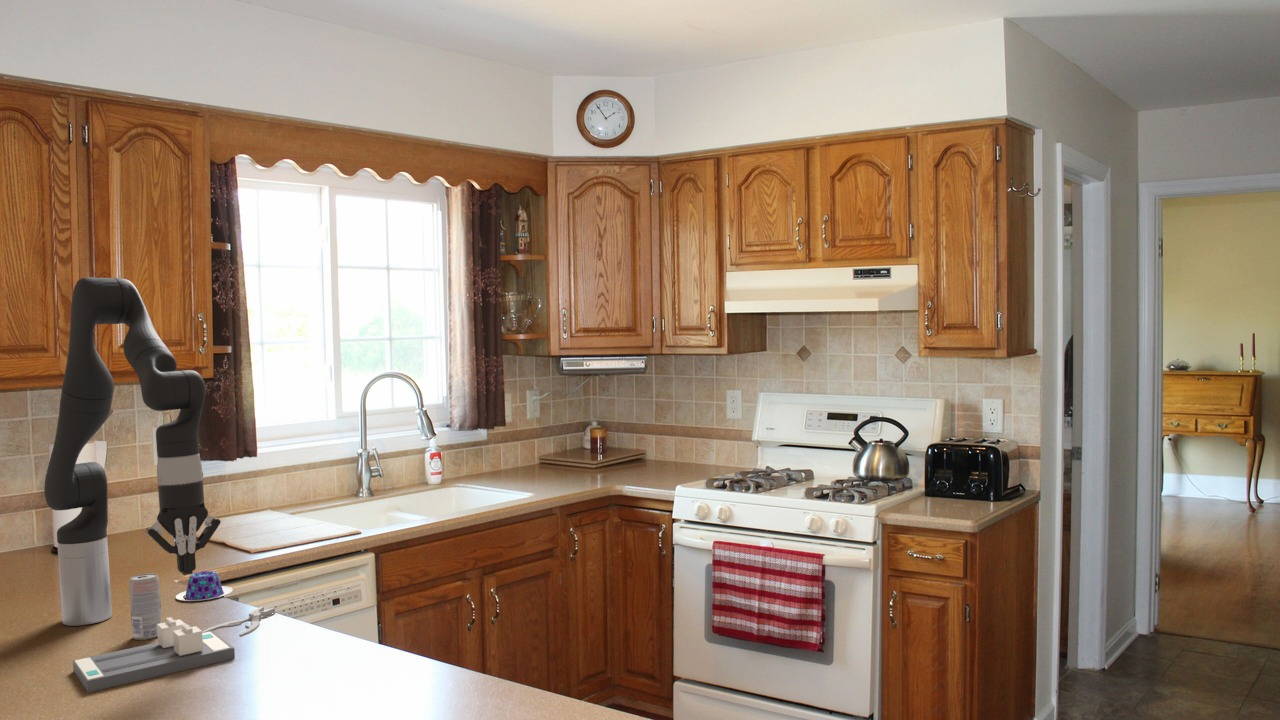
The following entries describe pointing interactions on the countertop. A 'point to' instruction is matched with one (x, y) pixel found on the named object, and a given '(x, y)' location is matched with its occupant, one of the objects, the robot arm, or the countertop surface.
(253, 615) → the pliers
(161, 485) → the robot arm
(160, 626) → the tab
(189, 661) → the switch panel
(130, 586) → the energy drink
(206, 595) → the pudding
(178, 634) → the tab
